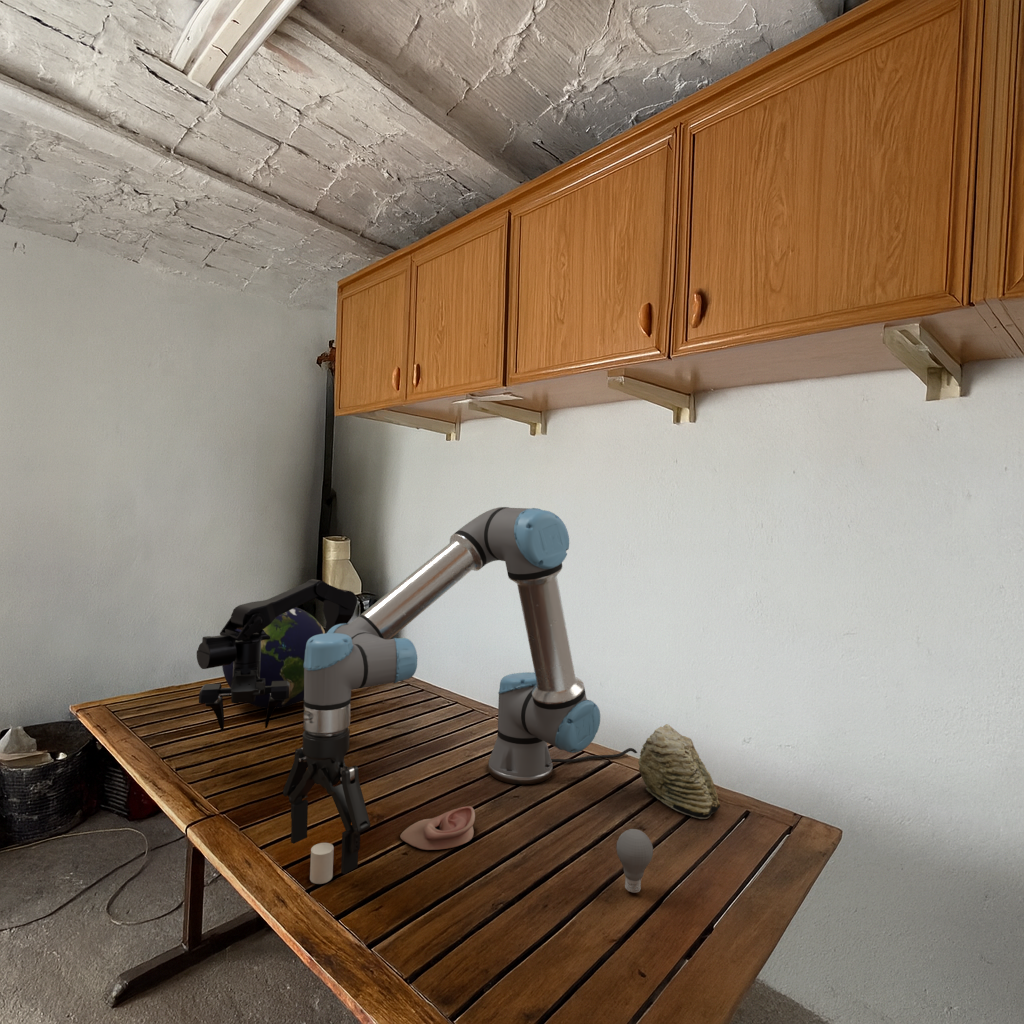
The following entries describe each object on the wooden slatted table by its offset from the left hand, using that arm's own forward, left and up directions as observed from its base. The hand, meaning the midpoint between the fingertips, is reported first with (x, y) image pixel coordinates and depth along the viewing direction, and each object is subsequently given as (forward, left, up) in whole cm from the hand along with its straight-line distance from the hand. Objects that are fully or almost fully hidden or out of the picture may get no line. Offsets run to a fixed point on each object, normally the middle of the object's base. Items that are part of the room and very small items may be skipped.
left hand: (244, 729), depth 144 cm
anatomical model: (-14, +51, -10) cm, 54 cm away
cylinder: (+9, +48, -10) cm, 50 cm away
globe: (-27, -36, -10) cm, 46 cm away
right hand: (+9, +48, -6) cm, 49 cm away
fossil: (-61, +76, -10) cm, 98 cm away
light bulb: (-25, +87, -10) cm, 91 cm away
